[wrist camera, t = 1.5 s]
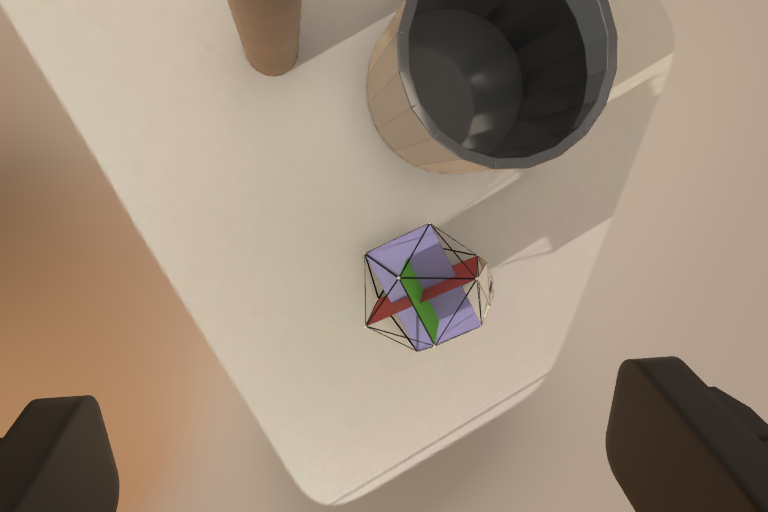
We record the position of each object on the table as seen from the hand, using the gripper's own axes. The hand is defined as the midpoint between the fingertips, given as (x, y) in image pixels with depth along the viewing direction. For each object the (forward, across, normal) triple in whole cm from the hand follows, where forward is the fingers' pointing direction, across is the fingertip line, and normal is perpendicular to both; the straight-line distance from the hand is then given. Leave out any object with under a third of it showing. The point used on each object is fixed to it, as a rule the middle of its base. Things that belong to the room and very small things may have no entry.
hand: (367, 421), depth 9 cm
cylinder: (+28, +4, -3) cm, 28 cm away
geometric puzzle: (+24, -4, +10) cm, 27 cm away
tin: (+28, -7, -1) cm, 29 cm away
